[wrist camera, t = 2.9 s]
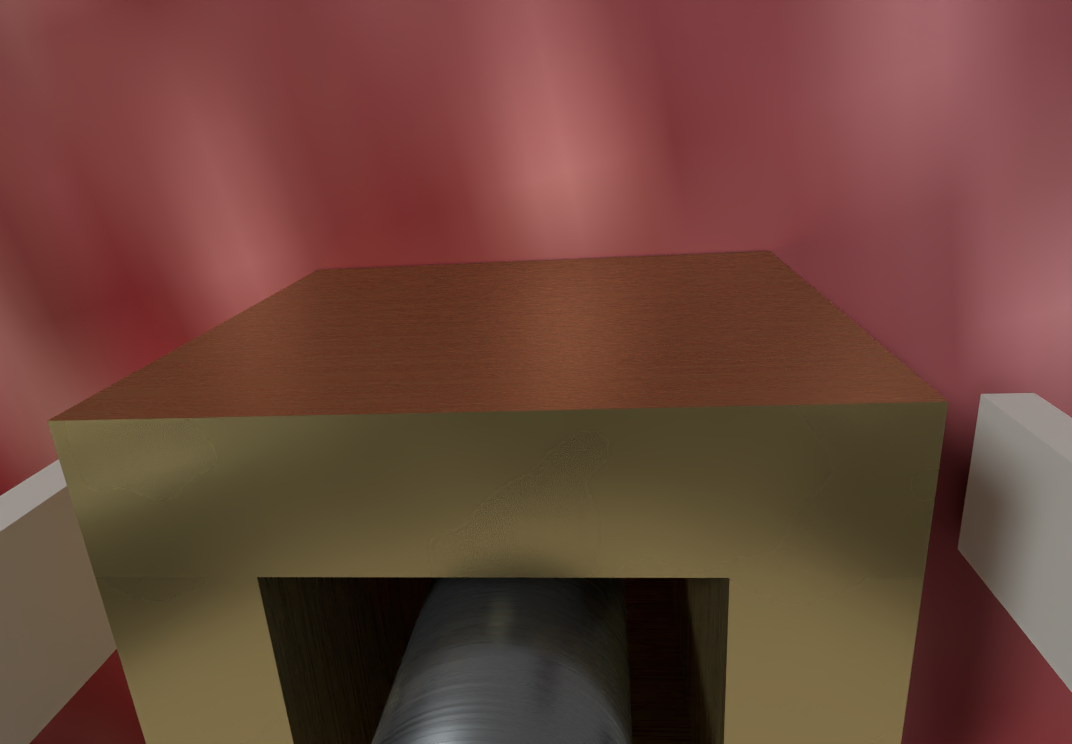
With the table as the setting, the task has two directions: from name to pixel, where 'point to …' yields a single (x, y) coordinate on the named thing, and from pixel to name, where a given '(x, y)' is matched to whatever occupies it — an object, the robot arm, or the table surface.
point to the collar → (516, 494)
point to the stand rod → (514, 664)
